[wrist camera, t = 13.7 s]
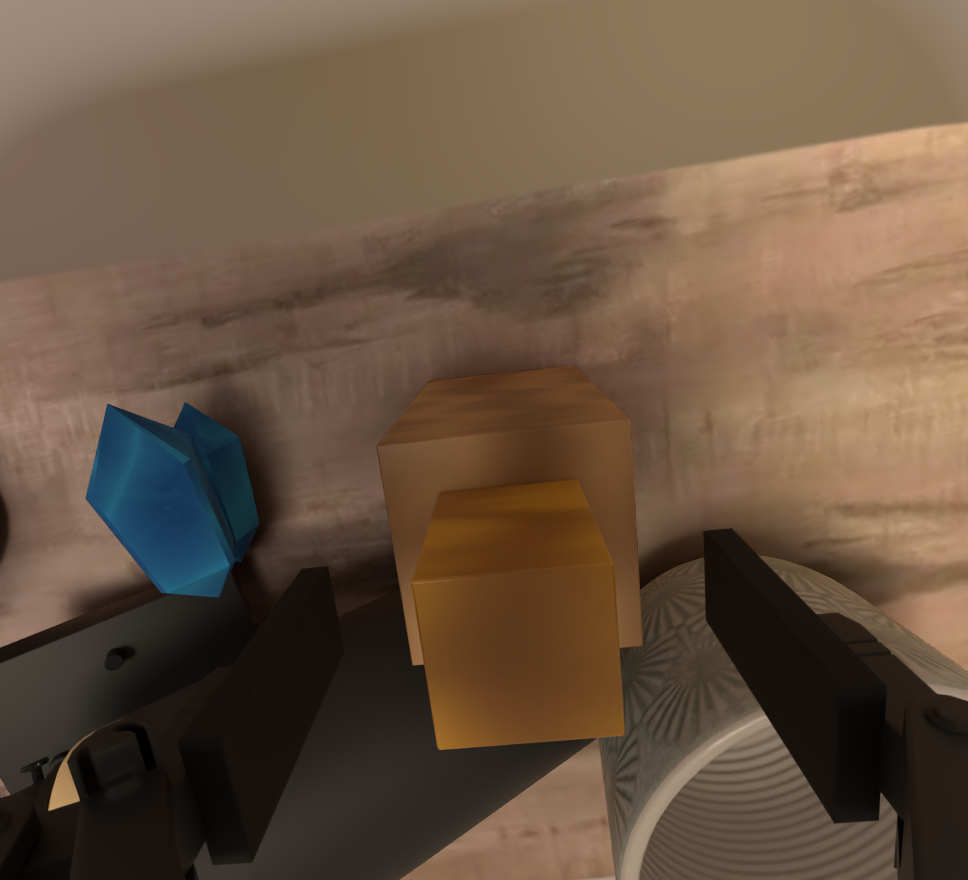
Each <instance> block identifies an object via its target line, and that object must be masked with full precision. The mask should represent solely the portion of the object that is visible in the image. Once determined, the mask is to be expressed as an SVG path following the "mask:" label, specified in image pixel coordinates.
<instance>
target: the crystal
mask: <svg viewBox="0 0 968 880" xmlns="http://www.w3.org/2000/svg"><path fill="white" fill-rule="evenodd" d="M86 500H87V501H88V502H89V503H90V505H91V506H92V507H93V508H94V510H95V511H96V512H97V513H98V515H99V516H100V517H101V518H102V520H103V521H104V522H105V523H106V525H107V526H108V527H109V528H110V530H111V531H112V532H113V533H114V535H115V536H116V537H117V538H118V540H119V541H120V542H121V543H122V545H123V546H124V547H125V548H126V550H127V551H128V552H129V553H130V555H131V556H132V557H133V558H134V560H135V561H136V562H137V563H138V565H139V566H140V567H141V568H142V570H143V571H144V572H145V573H146V575H147V576H148V577H149V578H150V580H151V581H152V582H153V583H154V585H155V586H156V587H157V588H158V590H159V591H160V592H161V593H169V594H182V595H195V596H208V597H219V596H220V594H221V592H222V590H223V588H224V585H225V583H226V581H227V579H228V576H229V574H230V572H231V570H232V567H233V565H234V563H235V561H238V562H240V563H241V561H242V559H243V557H244V555H245V553H246V551H247V549H248V547H249V545H250V543H251V541H252V539H253V537H254V535H255V533H256V530H257V528H258V526H259V524H260V523H259V518H258V514H257V510H256V505H255V501H254V497H253V492H252V488H251V484H250V480H249V475H248V471H247V467H246V462H245V458H244V454H243V449H242V445H241V441H240V437H239V436H238V435H236V434H235V433H233V432H232V431H230V430H229V429H227V428H225V427H224V426H222V425H221V424H219V423H217V422H216V421H214V420H213V419H211V418H209V417H208V416H206V415H205V414H203V413H202V412H200V411H198V410H197V409H195V408H194V407H192V406H190V405H189V404H187V403H186V402H185V404H184V406H183V408H182V410H181V413H180V415H179V417H178V419H177V422H176V424H175V426H174V428H172V427H169V426H167V425H164V424H161V423H158V422H156V421H153V420H150V419H147V418H145V417H142V416H139V415H136V414H134V413H131V412H128V411H126V410H123V409H120V408H117V407H115V406H112V405H109V404H107V408H106V412H105V417H104V421H103V425H102V430H101V434H100V438H99V443H98V447H97V451H96V456H95V460H94V464H93V469H92V473H91V477H90V482H89V486H88V490H87V495H86Z"/></svg>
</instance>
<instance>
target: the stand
mask: <svg viewBox="0 0 968 880" xmlns="http://www.w3.org/2000/svg"><path fill="white" fill-rule="evenodd" d="M377 452H378V458H379V464H380V470H381V477H382V483H383V489H384V495H385V501H386V507H387V513H388V519H389V525H390V531H391V537H392V544H393V550H394V556H395V562H396V568H397V574H398V580H399V586H400V592H401V598H402V604H403V610H404V617H405V623H406V629H407V635H408V641H409V647H410V653H411V659H412V664H413V665H423V664H424V661H423V655H422V649H421V642H420V636H419V630H418V624H417V617H416V611H415V605H414V598H413V592H412V586H411V582H412V578H413V575H414V572H415V569H416V565H417V562H418V559H419V556H420V552H421V549H422V546H423V543H424V539H425V536H426V533H427V530H428V526H429V523H430V520H431V517H432V513H433V510H434V507H435V504H436V500H437V497H438V494H439V493H442V492H452V491H462V490H472V489H482V488H492V487H502V486H512V485H522V484H532V483H542V482H552V481H562V480H572V479H578V481H579V483H580V485H581V487H582V490H583V492H584V495H585V497H586V499H587V502H588V504H589V506H590V509H591V511H592V513H593V516H594V518H595V521H596V523H597V525H598V528H599V530H600V532H601V535H602V537H603V539H604V542H605V544H606V547H607V549H608V551H609V554H610V556H611V558H612V561H613V563H614V572H615V587H616V602H617V617H618V632H619V647H620V648H624V647H636V646H643V634H642V616H641V598H640V580H639V562H638V544H637V526H636V508H635V490H634V472H633V454H632V436H631V420H630V418H629V417H628V416H627V415H626V414H624V413H623V412H622V411H621V410H620V409H619V408H618V407H617V406H616V405H615V404H614V403H613V402H612V401H611V400H610V399H609V398H608V397H607V396H606V395H605V394H604V393H603V392H601V391H600V390H599V389H598V388H597V387H596V386H595V385H594V384H593V383H592V382H591V381H590V380H589V379H588V378H587V377H586V376H585V375H584V374H583V373H582V372H581V371H579V370H578V369H577V368H576V367H575V366H574V365H572V366H563V367H554V368H545V369H536V370H527V371H518V372H509V373H500V374H491V375H482V376H473V377H464V378H455V379H446V380H437V381H429V382H428V383H427V385H426V386H425V387H424V388H423V390H422V391H421V392H420V393H419V395H418V396H417V397H416V398H415V399H414V401H413V402H412V403H411V404H410V406H409V407H408V408H407V409H406V410H405V412H404V413H403V414H402V415H401V417H400V418H399V419H398V420H397V421H396V423H395V424H394V425H393V426H392V428H391V429H390V430H389V431H388V432H387V434H386V435H385V436H384V437H383V439H382V440H381V441H380V442H379V443H378V445H377Z"/></svg>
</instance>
